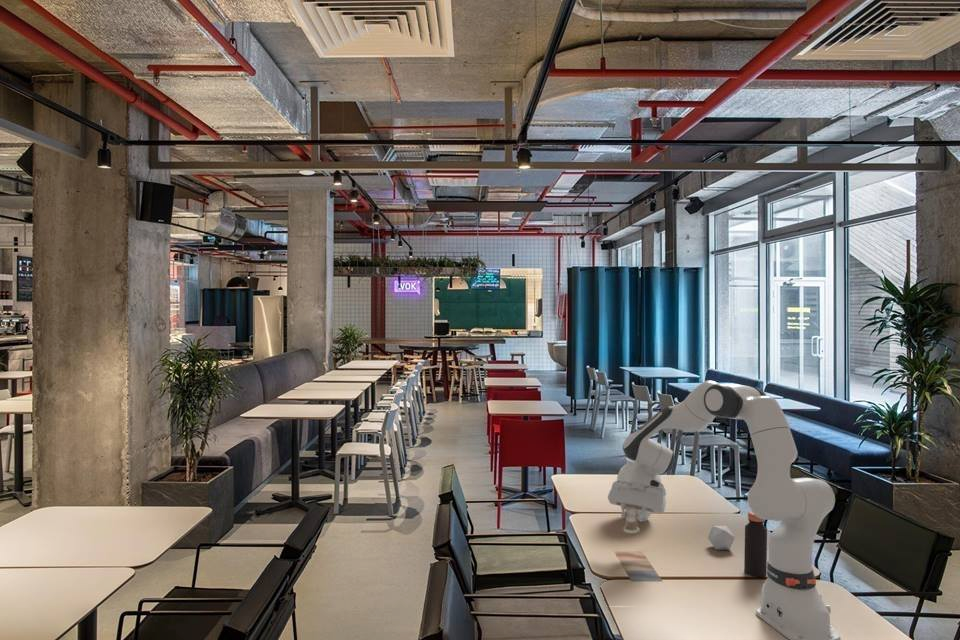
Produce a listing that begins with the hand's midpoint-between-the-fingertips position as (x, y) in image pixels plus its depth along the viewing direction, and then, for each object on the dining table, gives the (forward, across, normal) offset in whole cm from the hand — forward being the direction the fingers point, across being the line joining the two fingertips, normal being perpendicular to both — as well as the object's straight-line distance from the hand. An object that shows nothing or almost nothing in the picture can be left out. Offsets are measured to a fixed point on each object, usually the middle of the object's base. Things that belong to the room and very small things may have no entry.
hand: (630, 518), depth 217 cm
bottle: (+1, +39, +18) cm, 43 cm away
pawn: (+3, 0, +4) cm, 5 cm away
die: (-10, +24, +29) cm, 39 cm away
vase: (-18, -12, +38) cm, 44 cm away
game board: (+14, +5, +5) cm, 16 cm away
